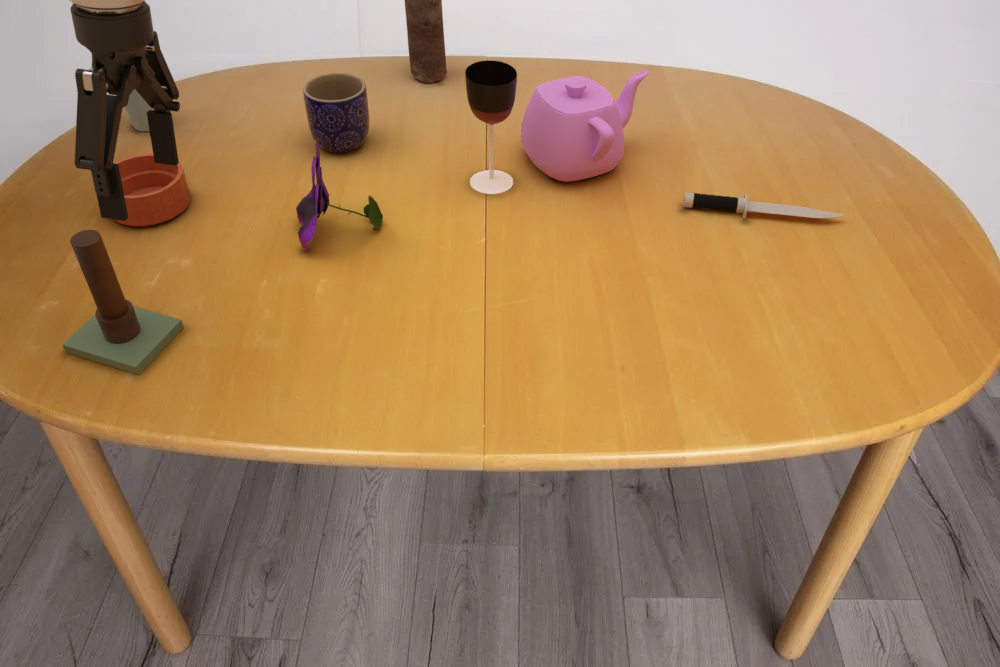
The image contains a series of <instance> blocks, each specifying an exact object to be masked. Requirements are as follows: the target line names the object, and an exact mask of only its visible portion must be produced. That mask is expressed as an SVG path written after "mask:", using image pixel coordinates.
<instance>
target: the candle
mask: <svg viewBox="0 0 1000 667" xmlns="http://www.w3.org/2000/svg"><path fill="white" fill-rule="evenodd" d="M403 1H404V10H405V21H406V31H407V32H406V33H407V47H408V48H407V49H408V59H409V67H410V73H411V75H412V76H413V78H414V79H417V80H418V81H421V82H422V83H424V84H433V83H436V82H439V81H442V80H443V78H444V77H445V76H446V74H447V73H448V72H447V69H448V68H447V58H446V57H447V56H446V44H445V30H444V29H445V28H444V18H443V17H444V15H443V0H403Z"/></svg>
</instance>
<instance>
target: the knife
mask: <svg viewBox="0 0 1000 667" xmlns="http://www.w3.org/2000/svg"><path fill="white" fill-rule="evenodd" d="M682 207H683V208H689V209H699V210H700V209H701V210H708V211H717V212H718V211H719V212H726V213H727V212H729V213H735V214H736V213H738V214H742V219H744V220H745V219H746V218H747V214H748V213H753V214H754V213H755V214H756V213H763V214H772V215H781V216H789V217H790V216H791V217H799V218H801V217H802V218H808V219H809V218H811V219H832V218H839V217H843V216H846V214H845V213H838V212H833V211H826V210H821V209H816V208H811V207H806V206H801V205H800V206H799V205H792V204H783V203H774V202H773V203H771V202H762V201H753V200H748V193H747V192H745V193H744V194H743V197H736V196H727V195H717V194H716V195H715V194H708V193H697V192H686V191H685V192H684V196H683V204H682Z"/></svg>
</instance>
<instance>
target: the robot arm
mask: <svg viewBox="0 0 1000 667" xmlns="http://www.w3.org/2000/svg"><path fill="white" fill-rule="evenodd" d="M69 1H70V2H71V3H72V4H71V7H70V8H69V9H70V14H71V19H72V25H73V29H74V35H75V39H76V41H77V42H78V43H79V44H80V45H81V46H83V47H85V48H86V49H87V50H88V51H89V52H90V53H91V68H88V69H84V68H76V69H75V73H74V77H75V78H74V79H75V85H76V92H77V99H76V100H77V101H76V122H75V144H74V145H75V146H74V166H75V168H76V169H80V170H86V171H90V172H91V177H92V178H91V179H92V182H93V186H94V192H95V194H96V200H97V203H98V204H97V205H98V209H99V214H100V217H101V218H102V219H109V220H113V219H115V220H122V221H126V220H127V219H128V213H127V207H126V202H125V197H124V192H123V186H122V181H121V176H120V171H119V165H118V164H114V163H115V162H114V161H115V154H116V150H117V149H116V148H117V143H118V138H119V130H120V125H121V119H122V113H123V109H124V108H125V106H127V105H128V101H129V95H130V94H131V93H132V91H133V90H134V89H135V90H136V91H137V92H138V93H139V94H140V96H141V97H142V98H143V99H144V100H145V101H146V103H147V104H148V105H149V106H150V107H151V108H154V111H153V110H149V111H148V112H147V118H148V124H149V131H148V132H149V137H150V142H151V143H150V144H151V149H152V154H153V155H154V162H155V163H161V164H168V165H175V166H176V165H177V164H178V163H179V162H180V160H179V155H178V148H177V141H176V133H175V128H174V121H173V120H174V119H173V113H172V112H179V111H180V110H181V104H180V101H177V100H179V98H180V92H179V89H178V86H177V84H176V82H175V80H174V77H173V75H172V73H171V70H170V67H169V66H168V63H167V61H166V59H165V56H164V54H163V52H162V49H161V46H160V40H159V36H158V32H157V31H155V30H154V26H153V17H152V11H151V7H150V5H149V4H148V2H146V0H69ZM175 100H176V101H175ZM115 220H114V221H115Z"/></svg>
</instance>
